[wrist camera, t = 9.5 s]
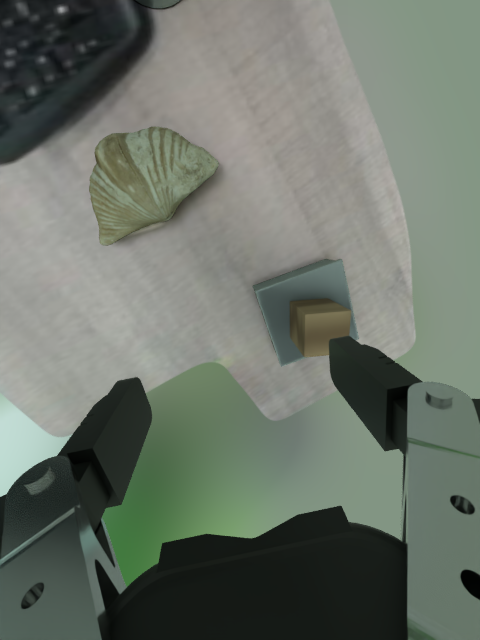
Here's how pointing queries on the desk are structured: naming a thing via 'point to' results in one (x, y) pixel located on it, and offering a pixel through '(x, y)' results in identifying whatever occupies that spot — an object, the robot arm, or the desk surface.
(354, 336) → the grey-green square slab
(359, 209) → the desk surface
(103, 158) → the seashell
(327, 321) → the brass block
